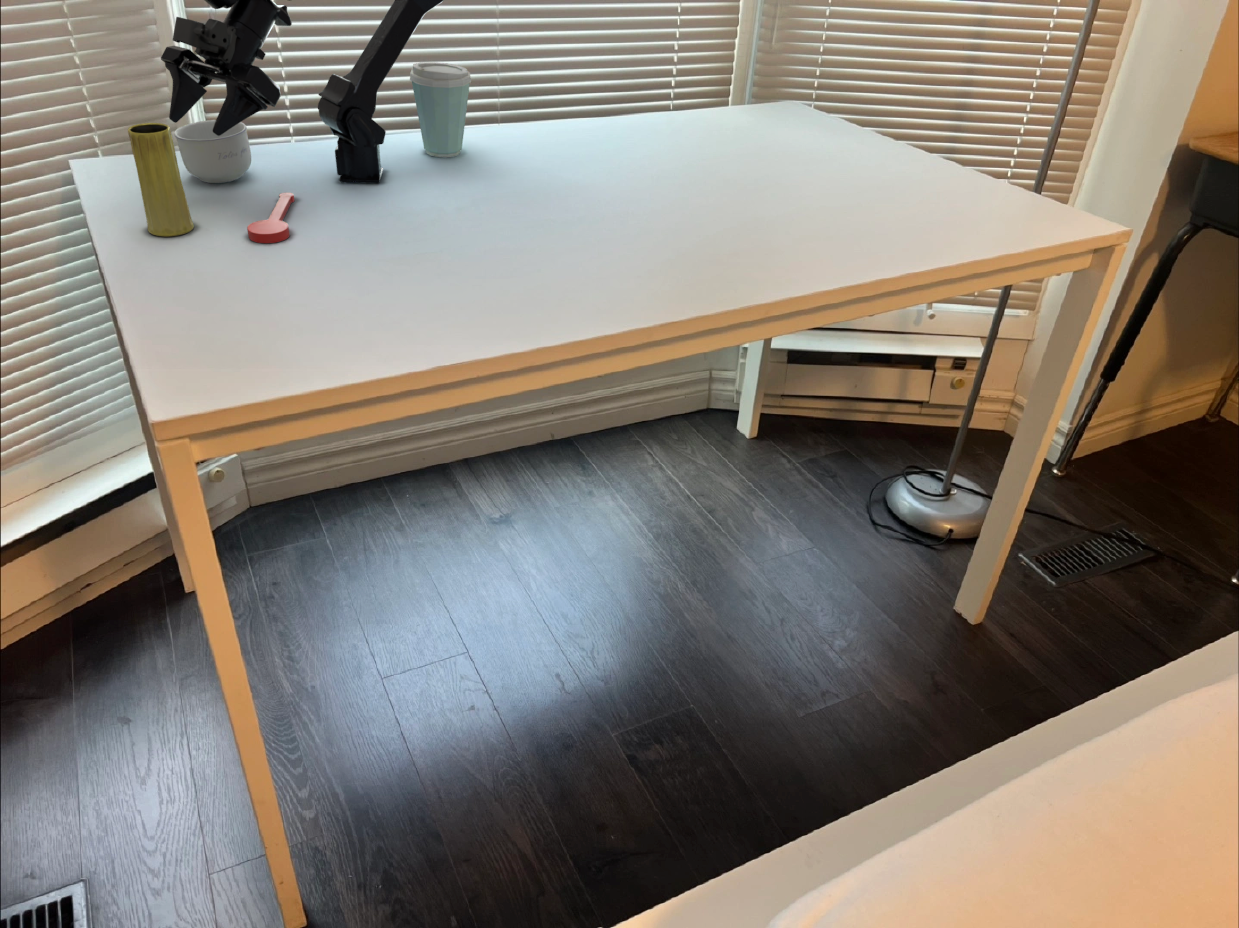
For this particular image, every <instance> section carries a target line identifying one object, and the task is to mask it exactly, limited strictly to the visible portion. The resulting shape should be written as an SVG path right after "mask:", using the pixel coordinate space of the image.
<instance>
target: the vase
mask: <svg viewBox="0 0 1239 928" xmlns="http://www.w3.org/2000/svg"><path fill="white" fill-rule="evenodd" d="M127 128H128V129H127V134H128V137H129V141H130V146H131V151H132V155H133V159H134V163H135V167H136V172H137V178H138V183H139V188H140V191H141V192H140V194H141V198H142V204H143V209H144V213H145V219H146V224H147V232H148V233H149V234H151V235H153V236H155V237H165V238H166V237H167V238H168V237H169V238H170V237H178V236H181V235H185V234H188V233H190V232H191V231H192V230H193V229H194V226H195V224H194V222H193V219H192V216H191V215H192V214H191V211H190V207H189V204H188V200H187V196H186V192H185V189H184V185H183V182H182V178H181V172H180V167H179V164H178V159H177V153H176V148H175V145H174V139H173V135H172V131H171V127H170V125H168V124H167V123H166V124H165V123H161V122H144V123H138V124H137V123H136V124H134V125H131V126H129V127H127Z"/></svg>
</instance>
